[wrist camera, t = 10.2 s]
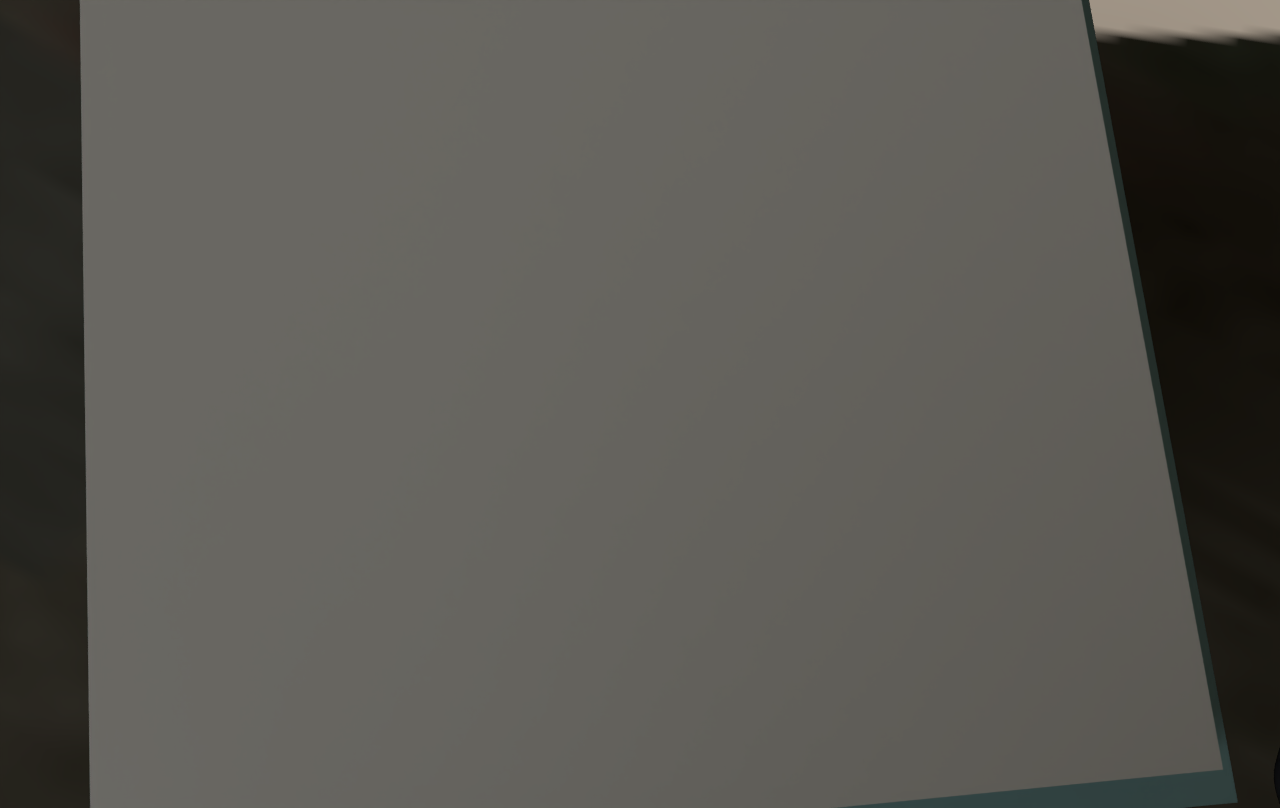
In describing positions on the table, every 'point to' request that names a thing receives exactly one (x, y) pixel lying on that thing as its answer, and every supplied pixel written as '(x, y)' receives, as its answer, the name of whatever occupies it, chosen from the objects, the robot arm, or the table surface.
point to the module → (625, 412)
